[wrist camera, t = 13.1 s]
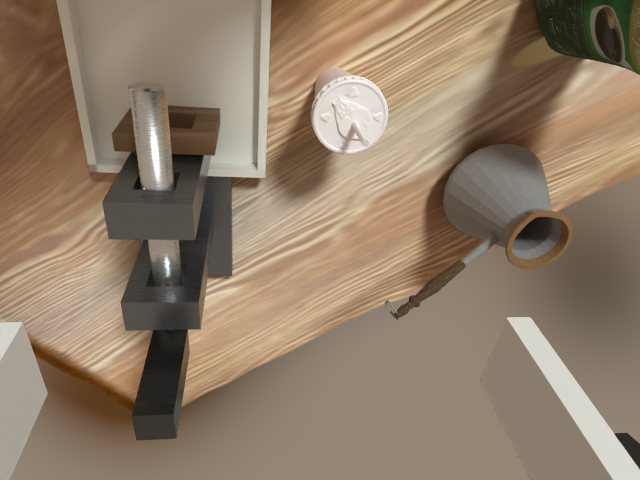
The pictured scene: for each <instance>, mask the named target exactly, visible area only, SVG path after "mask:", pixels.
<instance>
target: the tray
mask: <svg viewBox="0 0 640 480" xmlns="http://www.w3.org/2000/svg"><path fill="white" fill-rule="evenodd" d="M56 1H57V7H58V12H59V17H60V22H61V27H62V33H63V38H64V43H65V48H66V53H67V59H68V64H69V69H70V74H71V79H72V85H73V90H74V95H75V100H76V105H77V111H78V116H79V121H80V126H81V131H82V137H83V142H84V147H85V152H86V157H87V163H88V168H89V172H105V173H119V172H120V170H121V169H122V167H123V165H124V163H125V162H126V160H127V158H128V156H129V154H130V153H131V152H119V151H114V146H113V140H112V132H113V131H114V130H115V128H116V127H117V125H118V124H119V123H120V121H121V120H122V118H123V117H124V116H125V114H126V113H127V111H128V110H129V109H130V107H131V105H130V97H129V89H128V86H129V85H131V84H133V83H139V82H153V83H159V84H163V85H165V86H166V93H167V105H169V106H186V107H204V108H220V128H219V134H218V140H217V145H216V151H215V156H213V155H211V160H210V165H209V170H208V175H207V176H221V177H250V178H265V170H266V141H267V111H268V82H269V53H270V24H271V0H56Z"/></svg>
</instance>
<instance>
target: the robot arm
mask: <svg viewBox="0 0 640 480" xmlns="http://www.w3.org/2000/svg"><path fill="white" fill-rule="evenodd" d="M480 382H481V384H482V386H483V388H484V390H485V392H486V394H487V396H488V398H489V400H490V402H491V403H492V405H493V407H494V410H495V411H496V413H497V415H498V417H499V419H500V421H501V423H502V425H503V427H504V429H505V431H506V433H507V435H508V437H509V439H510V441H511V443H512V445H513V447H514V449H515V451H516V453H517V455H518V457H519V459H520V461H521V463H522V465H523V467H524V468H525V470H526V473H527V475H528V477H529V479H530V480H640V444H639V443H638V442H637V441H636V440H635V439H633V438H632V437H631V436H630V435H629V434H628V433H616V434H614V433H613V432H612V430H611V429H610V428H609V426H608V425H607V423H606V422H605V421H604V419H603V418H602V416H601V415H600V414H599V412H598V411H597V409H596V408H595V407H594V405H593V404H592V402H591V401H590V400H589V398H588V397H587V396H586V394H585V393H584V391H583V390H582V389H581V387H580V386H579V385H578V383H577V382H576V380H575V379H574V377H573V376H572V375H571V373H570V372H569V371H568V369H567V368H566V367H565V365H564V364H563V362H562V361H561V359H560V358H559V357H558V355H557V354H556V352H555V351H554V350H553V348H552V347H551V345H550V344H549V343H548V341H547V340H546V339H545V337H544V336H543V334H542V333H541V332H540V330H539V329H538V327H537V326H536V325H535V323H534V322H533V321H532V319H531V318H530V317H513V318H506V320H505V322H504V325H503V327H502V329H501V331H500V334H499V336H498V338H497V341H496V343H495V345H494V347H493V350H492V352H491V354H490V357H489V359H488V361H487V364H486V366H485V368H484V371H483V373H482V375H481V377H480ZM47 394H48V393H47V390H46V387H45V384H44V382H43V379H42V376H41V373H40V370H39V367H38V364H37V361H36V359H35V355H34V353H33V350H32V347H31V344H30V341H29V338H28V335H27V332H26V329H25V326H24V324H23V322H3V323H0V480H9V479H10V477H11V475H12V472H13V470H14V468H15V466H16V463H17V461H18V459H19V457H20V454H21V452H22V450H23V448H24V446H25V443H26V441H27V439H28V437H29V434H30V432H31V430H32V428H33V425H34V423H35V421H36V419H37V416H38V414H39V412H40V410H41V408H42V405H43V403H44V401H45V399H46V396H47Z"/></svg>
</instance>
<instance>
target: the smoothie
mask: <svg viewBox="0 0 640 480" xmlns="http://www.w3.org/2000/svg"><path fill="white" fill-rule="evenodd" d="M387 121H388V107H387V103H386V100H385V98H384V96H383V94H382V93H381V91H380V89H379V88H378V87H377V86H376V85H375V84H374V83H373V82H371V81H369V80H367V79H366V78H364V77H359V76H354V75H351V74H350V73H348V72H346V71H344V70H343V69H341V68H336V67H332V68H328V69H326V70H324V71H323V72H322V73H321V74H320V75H319V76H318V78H317V80H316V83H315V100H314V102H313V105H312V109H311V124H312V127H313V130H314V133H315V134H316V136H317V138H318V139H319V141H320V142H321V143H322V144H323V145H324V146H325V147H326V148H328V149H329V150H331V151H333V152H336V153H339V154H356V153H359V152H362V151H364V150H366V149H368V148H370V147H371V146H372V145H374V144H375V143H376V142H377V141H378V140H379V138H380V137H381V136H382V134H383V132H384V130H385V128H386V125H387Z"/></svg>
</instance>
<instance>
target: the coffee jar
mask: <svg viewBox="0 0 640 480" xmlns="http://www.w3.org/2000/svg"><path fill="white" fill-rule="evenodd" d="M535 3H536V10H537V15H538V18H539V22H540V26H541V29H542V32H543V34H544V37H545V39H546V41H547V43H548V45H549V46H550V48H551V49H553V50H554V51H556V52H558V53H561V54H564V55H568V56H572V57H578V58H584V59H590V60H595V61H599V62H604V63H608V64H612V65H617V66H620V67H623V68H626V69H629V70H631V71H633V72H635V73H637V74H639V75H640V0H535Z"/></svg>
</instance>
